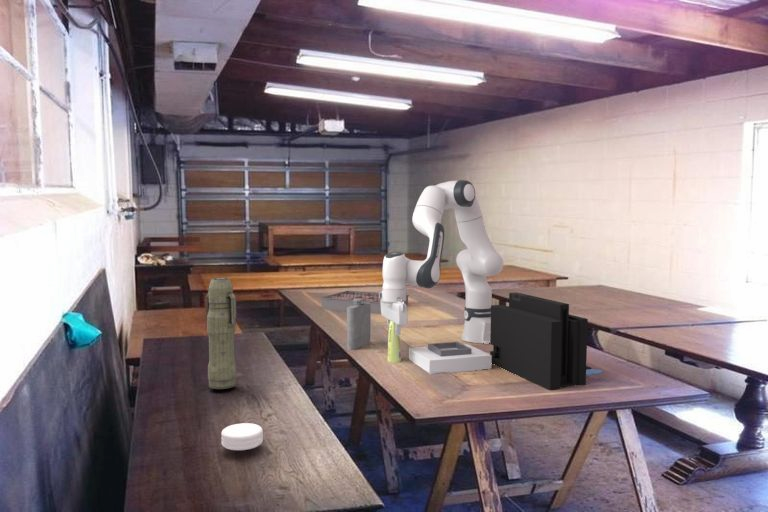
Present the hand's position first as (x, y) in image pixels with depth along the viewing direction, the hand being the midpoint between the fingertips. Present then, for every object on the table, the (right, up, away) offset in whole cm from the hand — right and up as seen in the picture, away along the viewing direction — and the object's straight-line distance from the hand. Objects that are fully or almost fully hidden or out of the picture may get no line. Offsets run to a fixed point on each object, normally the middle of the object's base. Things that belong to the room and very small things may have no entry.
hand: (394, 332), depth 234 cm
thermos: (-56, -14, -29) cm, 65 cm away
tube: (0, -11, +1) cm, 11 cm away
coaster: (-39, -18, -78) cm, 89 cm away
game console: (+56, -13, -11) cm, 59 cm away
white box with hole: (+20, -11, -3) cm, 23 cm away
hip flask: (-14, -9, +25) cm, 31 cm away
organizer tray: (-14, -2, +115) cm, 116 cm away
